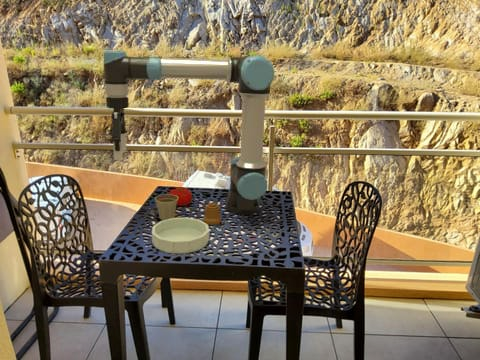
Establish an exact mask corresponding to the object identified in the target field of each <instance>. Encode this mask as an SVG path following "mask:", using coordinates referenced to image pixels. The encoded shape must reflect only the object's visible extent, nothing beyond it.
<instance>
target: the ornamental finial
mask: <svg viewBox="0 0 480 360" xmlns="http://www.w3.org/2000/svg"><path fill="white" fill-rule="evenodd" d="M220 213H221V211H220V206H219V205H218V204H217V203H215V202H210V203H208V204H207V205H206V206H205V211H204V215H203V218H202V222H204V223H206V224H208V226H217V225H220V223H222V217H221V214H220Z"/></svg>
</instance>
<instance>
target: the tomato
mask: <svg viewBox="0 0 480 360" xmlns="http://www.w3.org/2000/svg"><path fill="white" fill-rule="evenodd" d="M168 194H172V195H176V196H178V200H177V203H176V206H183V207H184V206H188V205H189V204H191V203H192V200H193V195H192V193H191V191H190V190H189V189H188V188H185V187H183V186H179V187H176V188H175V189H171V190H170V191H169V192H168Z"/></svg>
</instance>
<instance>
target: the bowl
mask: <svg viewBox="0 0 480 360" xmlns="http://www.w3.org/2000/svg"><path fill="white" fill-rule="evenodd" d="M151 228H152V230H151V243H152V245H153V247H154V248H155V249H157V250H159V251H160V252H163V251H164V253H168V254H176V255H177V254H180V255H181V254H188V253H190V254H191V253H195V252H197V251H200V250H201V249H203V248H205V247H206V246H207V245H208V243H209V240H210V229H209V225H208V224H206V223H204V221H203V220H201V219H197V218H191V217H175V218H171V219H167V220H160V221H159V222H157V223H155V225H153V226H152V227H151Z"/></svg>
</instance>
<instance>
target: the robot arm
mask: <svg viewBox="0 0 480 360" xmlns="http://www.w3.org/2000/svg"><path fill="white" fill-rule="evenodd" d="M103 72H104V86H103V89H104V90H105V95H106V97H105V103H106V108H107V109H113V112H111V121H112V122H111V129H112V130H111V139H110V142H111V143H112V145H113V158H114V159H113V160H114V161H122V160H123V152H126V151H127V137H126V135H127V134H128V130H127V128H126V121H125V120H126V117H125V109H127V108H129V107H130V105H129V104H130V103H129V97H128V95H129V83H128V80H141V81H142V80H144V81H145V80H146V81H148V80H149V81H160V80H161V79H188V80H218V81H219V80H221V81H222V80H223V81H224V80H225V81H226V82H227V83H231V84H232V83H233V84H234V83H235V84H238V94H239V95H240V96H241V98H242V102H241V103H242V105H241V106H242V107H241V110H242V111H241V131H240V135H241V136H240V156H235V157H232V158H231V159H230V175H229V176H230V177H229V179H230V180H229V181H230V182H229V193H228V195H227V198H226V200H225V209H226V210H227V211H228V212H231V213H233V214H237V215H239V214H240V215H248V214H255V213H257V212H259V210H260V207H261V206H260V204H261V203H260V201H259V198H261V197H263V196H264V194H266V192H267V190H268V180H267V178H266V166H267V165H266V163H265V162H264V161H263V153H264V132H265V118H266V117H265V113H266V99H267V98H268V97H269V95H271V85H272V83H273V81H274V79H275V69H274V66H273V64H272V62H271V61H270V60H269V59H268V58H266V57H265V56H264V55H260V54H253V55H250V54H249V55H244V56H238V57H235V56H234V57H233V56H229V57H228V58H226V59H213V58H181V57H155V56H154V57H153V56H151V57H150V56H129V55H127V52H126V51H125V50H117V49H114V50H113V49H112V50H111V49H106V50H104V51H103Z"/></svg>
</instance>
